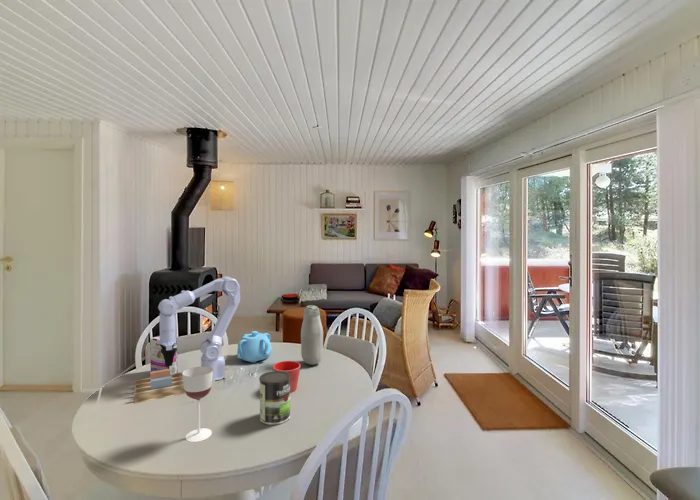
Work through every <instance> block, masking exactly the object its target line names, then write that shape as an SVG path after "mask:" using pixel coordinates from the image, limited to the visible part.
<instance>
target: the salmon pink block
mask: <svg viewBox="0 0 700 500" xmlns="http://www.w3.org/2000/svg"><path fill="white" fill-rule="evenodd" d="M169 376H170V369H164V370H158V371H152V372H151V371H149V378H150V382H151V379H157V378H163V377H169Z"/></svg>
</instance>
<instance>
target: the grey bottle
mask: <svg viewBox="0 0 700 500" xmlns="http://www.w3.org/2000/svg"><path fill="white" fill-rule="evenodd" d="M300 347H301V348H300V353H301V354H300V355H301V357H302V360H303V362H304V363H306V364H307V365H311V366H315V365H317V364H319V363H320V362H321V361H322V359H323V355H324V354H323V353H324V329H323V325H322V320H321V313H320V308H319V307H318V306H316V305H314V304H310V305H309V304H308V305H306V307H304V310H303V320H302V324H301V329H300Z"/></svg>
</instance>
